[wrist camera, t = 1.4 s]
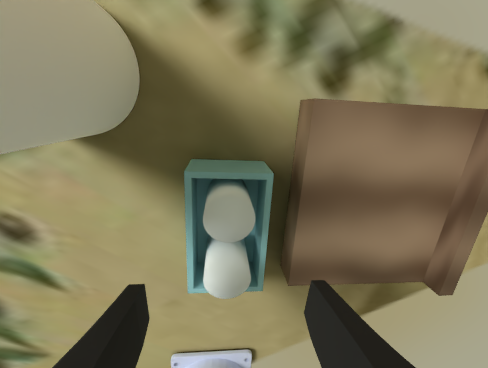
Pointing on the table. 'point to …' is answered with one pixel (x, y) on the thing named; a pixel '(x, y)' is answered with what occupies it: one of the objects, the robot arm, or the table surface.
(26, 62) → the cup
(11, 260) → the table surface
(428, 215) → the brown flat block
